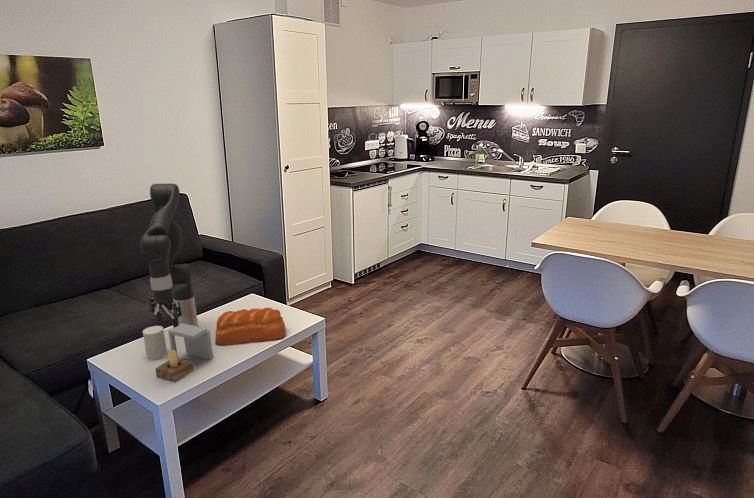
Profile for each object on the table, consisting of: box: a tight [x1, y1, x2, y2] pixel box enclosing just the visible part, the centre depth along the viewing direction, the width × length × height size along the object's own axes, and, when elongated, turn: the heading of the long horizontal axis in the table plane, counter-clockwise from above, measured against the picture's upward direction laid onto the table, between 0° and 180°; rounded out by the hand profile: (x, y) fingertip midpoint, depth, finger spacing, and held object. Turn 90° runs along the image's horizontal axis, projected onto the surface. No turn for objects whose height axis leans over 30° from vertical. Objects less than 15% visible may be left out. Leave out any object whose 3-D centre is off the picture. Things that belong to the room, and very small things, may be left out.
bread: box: [215, 307, 286, 346], centre depth 233 cm, size 16×31×13 cm, turn 100°
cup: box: [142, 325, 168, 361], centre depth 217 cm, size 8×8×12 cm
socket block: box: [155, 357, 195, 383], centre depth 203 cm, size 10×10×4 cm
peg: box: [167, 349, 178, 369], centre depth 202 cm, size 3×3×10 cm
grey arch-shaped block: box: [167, 323, 214, 361], centre depth 212 cm, size 14×9×14 cm, turn 64°
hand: (167, 324), depth 197 cm, fingers open, 8 cm apart
